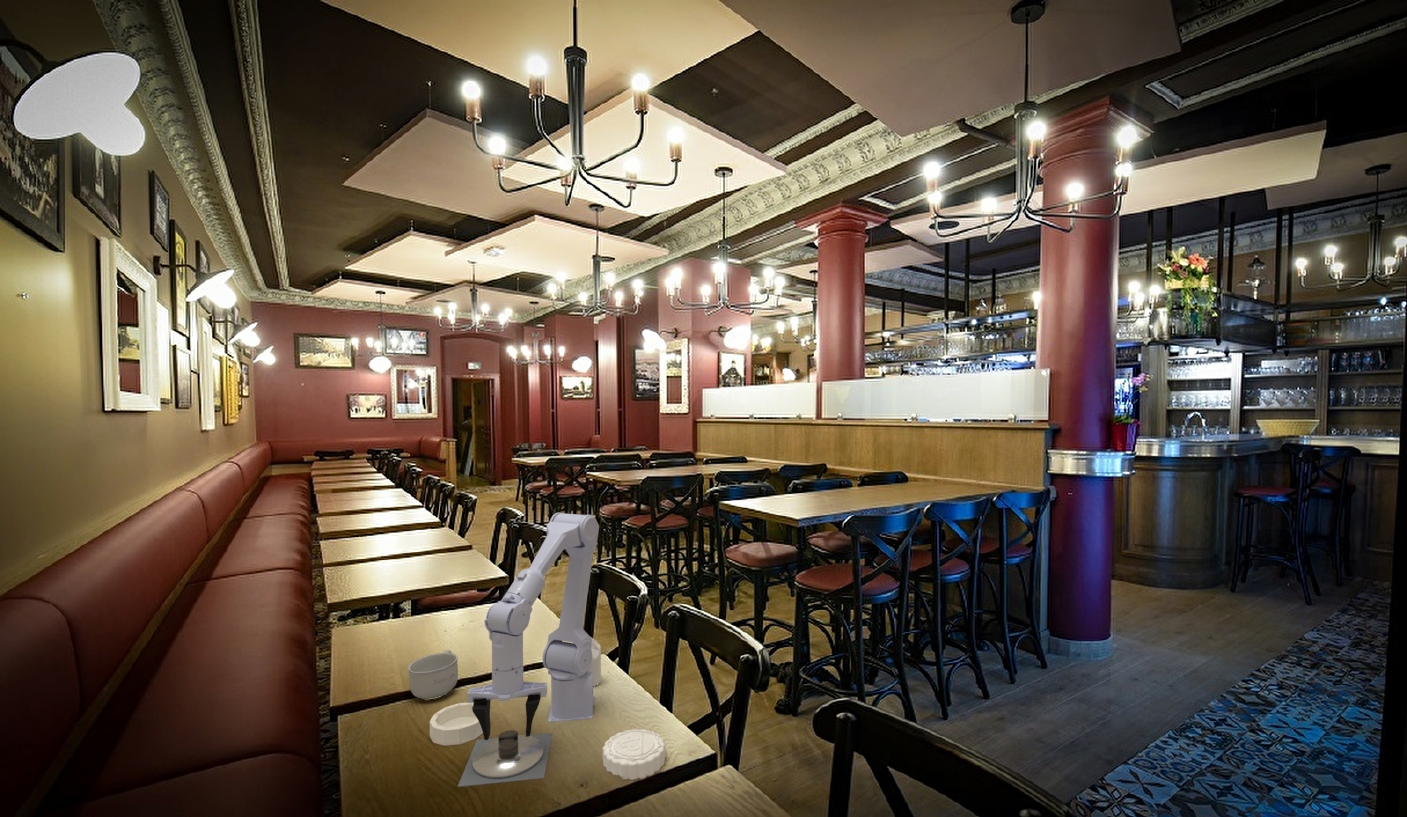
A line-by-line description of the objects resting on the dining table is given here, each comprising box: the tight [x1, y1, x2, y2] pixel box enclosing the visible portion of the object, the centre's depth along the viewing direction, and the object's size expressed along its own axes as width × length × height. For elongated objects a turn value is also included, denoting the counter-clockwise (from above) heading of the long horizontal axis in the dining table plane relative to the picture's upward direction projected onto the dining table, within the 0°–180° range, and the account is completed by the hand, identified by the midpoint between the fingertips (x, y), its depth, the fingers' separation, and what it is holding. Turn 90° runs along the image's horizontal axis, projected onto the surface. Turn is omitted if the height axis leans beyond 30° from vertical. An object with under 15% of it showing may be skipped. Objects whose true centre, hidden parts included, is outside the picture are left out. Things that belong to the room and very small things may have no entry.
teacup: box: [407, 649, 459, 700], centre depth 141 cm, size 14×11×8 cm
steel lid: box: [472, 730, 543, 779], centre depth 113 cm, size 13×13×4 cm
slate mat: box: [457, 732, 554, 788], centre depth 113 cm, size 15×15×1 cm
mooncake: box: [602, 728, 666, 781], centre depth 112 cm, size 12×12×4 cm
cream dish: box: [429, 702, 483, 747], centre depth 123 cm, size 11×11×4 cm
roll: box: [588, 636, 602, 687], centre depth 145 cm, size 6×12×6 cm
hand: (508, 735), depth 113 cm, fingers open, 7 cm apart
